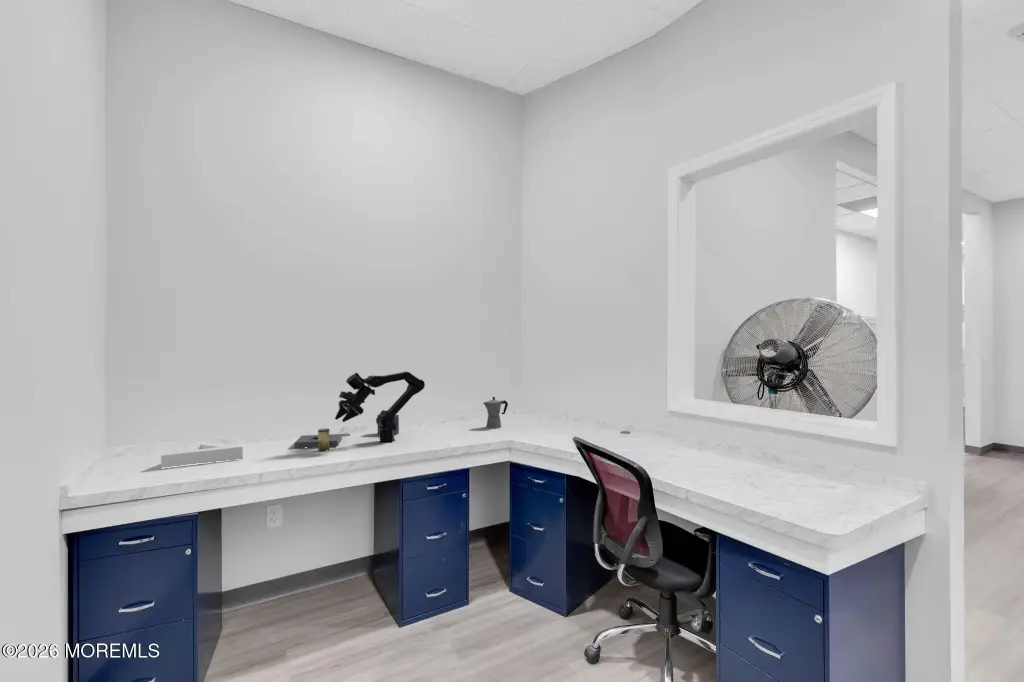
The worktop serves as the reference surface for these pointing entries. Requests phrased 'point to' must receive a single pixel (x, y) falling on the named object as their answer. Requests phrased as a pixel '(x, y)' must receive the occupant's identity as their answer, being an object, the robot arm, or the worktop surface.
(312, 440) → the grey octagonal hole plate
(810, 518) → the worktop surface
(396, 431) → the small box
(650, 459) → the worktop surface
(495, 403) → the coffeepot
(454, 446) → the worktop surface
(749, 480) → the worktop surface
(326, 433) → the cylinder
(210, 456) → the triangle block
